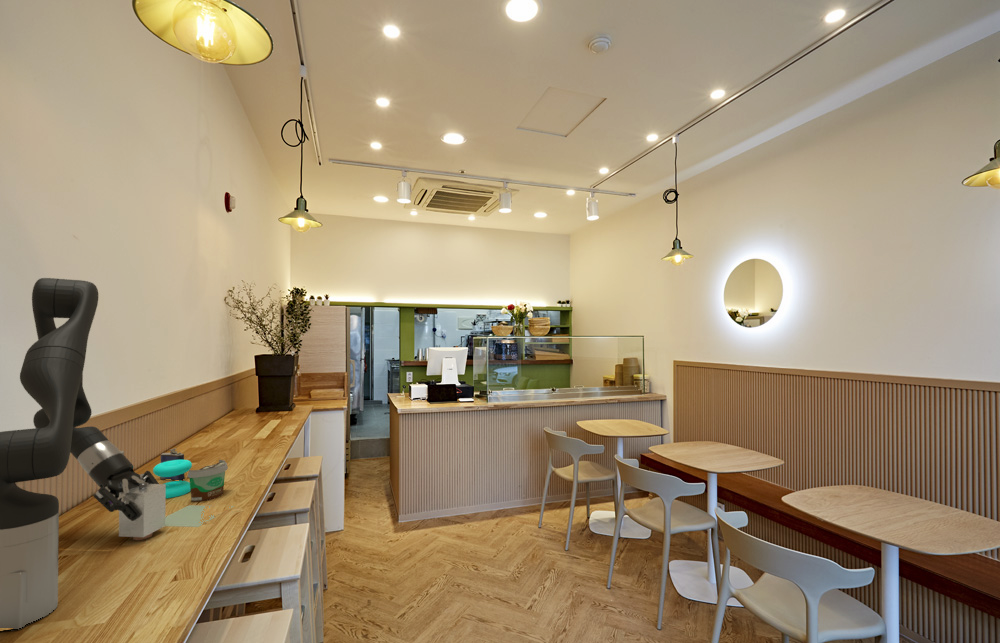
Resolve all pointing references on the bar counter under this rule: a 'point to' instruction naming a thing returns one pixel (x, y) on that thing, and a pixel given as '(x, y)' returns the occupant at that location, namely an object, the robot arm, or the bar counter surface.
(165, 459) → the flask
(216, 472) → the food container
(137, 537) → the terracotta ramekin
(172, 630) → the bar counter surface
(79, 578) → the bar counter surface
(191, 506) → the rubber mat
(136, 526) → the steel cover
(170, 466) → the donuts
